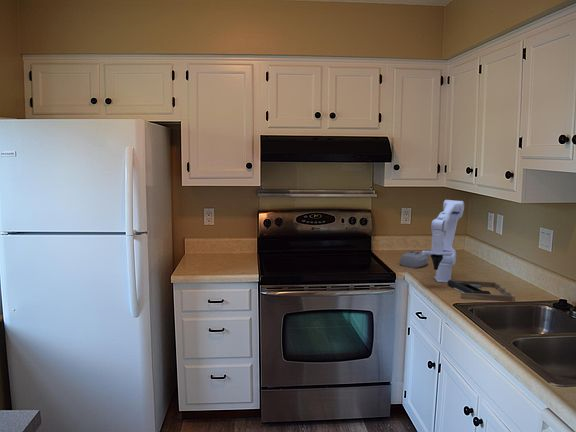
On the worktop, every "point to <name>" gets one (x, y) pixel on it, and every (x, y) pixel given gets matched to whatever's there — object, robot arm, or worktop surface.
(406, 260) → the grey rounded bag
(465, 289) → the door handle
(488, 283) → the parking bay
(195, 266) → the worktop surface
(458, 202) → the robot arm
